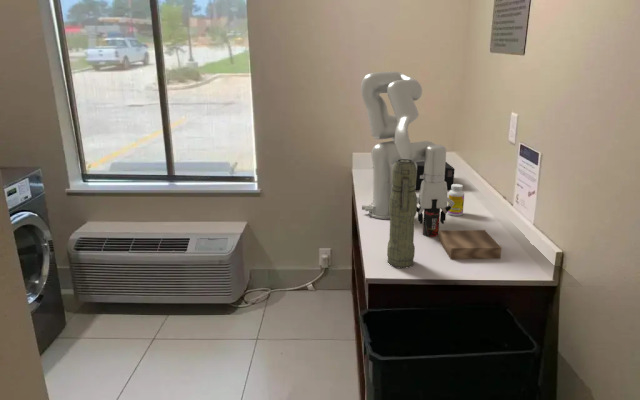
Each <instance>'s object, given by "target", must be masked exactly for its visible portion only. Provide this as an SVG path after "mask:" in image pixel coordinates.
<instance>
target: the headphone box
mask: <svg viewBox="0 0 640 400" xmlns="http://www.w3.org/2000/svg"><path fill="white" fill-rule="evenodd" d="M415 163H416V164H417V176H416V191H420V187H421V183H422V181H423V179H420V175H423V174H424V166H425V161H421V162H415ZM454 180H455V167H453V166H452V165H450V164H449V162H447V161H446V162H445V178H444V181H445V182H446V183H447V191H450V190H452V189H451V185H452V184H455V183H454V182H455V181H454Z"/></svg>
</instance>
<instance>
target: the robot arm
mask: <svg viewBox="0 0 640 400" xmlns="http://www.w3.org/2000/svg"><path fill="white" fill-rule="evenodd" d="M360 93H361V98H362V100H363V103H364V105H365V109H366V114H367V118H368V124H369V129H370V133H371V136H372V138H373V139H375V140H388V139H391V141H383V142H378V143H377V144H375V145H374V146H373V147H372V149H371V159H372V161H371V162H372V167H373V168H372V169H373V172H372V173H373V175H372V177H373V178H372V179H373V181H372V184H373V185H372V187H373V188H372V202H371V204H369V205H366V204H365V205H363V204H362V205H361V210H362V211H365V212H368V215H369V216H370V217H371V218H375V219H382V220H388V219H389V220H390V213H389V198H390V195H391V192H392V170H393V167H392V164H395V161H398V160H399V159H409V160H412V161H414V162H421V161H425V166H424V174H423V175H420V179H423V181H422V183H421V187H420V190H419V195H418V196H417V197H418V198H417V204H418V205H419V206H417V211H416V213H417V222H419V224H420V225H421V224H422V225H423V221H424V209H430V208H432V201H431V200H432V199H438V201H437V208H438V209H440V219H439V223H441V224H443V225H444V223H445V222H446V219H447V217H446V215H447V214H448V213H447V212H448V211H449V210H450V209H451V207H452V206H453V205H454V204H455V203H454V202H453V201H452V200H450V199H449V198H448V190H447V183H446V182H445V181H444V178H445V162H447V161H446V160H447V159H446V158H447V148H446V146H445V145H442V144H436V143H434V142H432V141H429V140H423V141H422V140H421V141H415V142H411V140H410V135H409V131H408V129H409V128H408V127H409V125H410V124H412V123H413V122H414V121H416V120H417V119H418V118H419V115H420V114H419V110H418V108H417V106H416V103H415V101H419V100H420V98H421V97H422V95H423V89H422V85H421V83H420V82H419V81H418V80H417V79H415V78H414V77H412V76H409V75H406V74H404V73H402V72H399V71H378V72H377V71H375V72H371V73H368V74H366V75H365V76H364V78H363V79H362V81H361V84H360ZM380 94H387V96H388V99H389V102H390V104H391V107H392V111H393V112H394V114H392V115H390V114H389V112H388V111H389V110H388V105H387V103H386V101H385V100H384V98H383V97H382V96H381V95H380ZM448 202H449V205H448Z"/></svg>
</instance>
